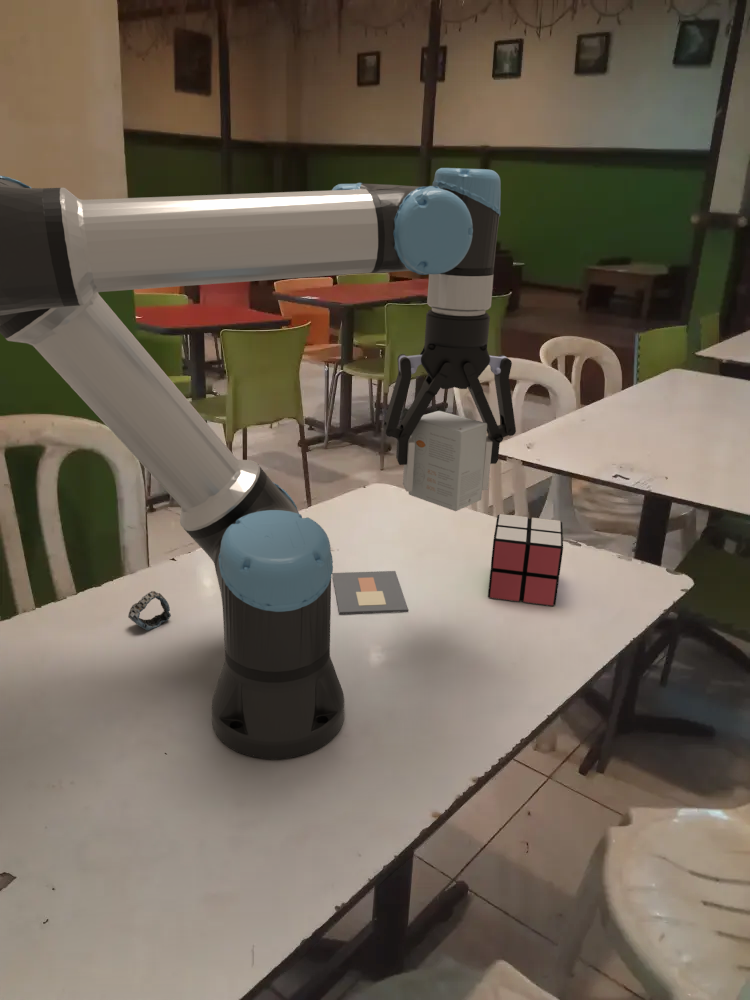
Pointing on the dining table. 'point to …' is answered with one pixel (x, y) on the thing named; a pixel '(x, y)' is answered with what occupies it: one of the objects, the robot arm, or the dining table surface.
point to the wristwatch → (142, 605)
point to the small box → (448, 460)
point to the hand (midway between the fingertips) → (445, 487)
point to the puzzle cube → (526, 560)
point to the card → (368, 592)
